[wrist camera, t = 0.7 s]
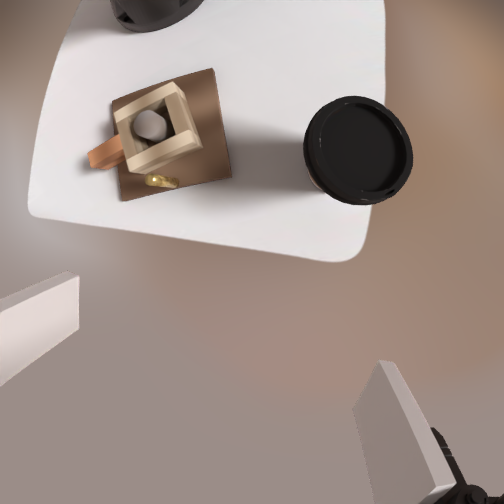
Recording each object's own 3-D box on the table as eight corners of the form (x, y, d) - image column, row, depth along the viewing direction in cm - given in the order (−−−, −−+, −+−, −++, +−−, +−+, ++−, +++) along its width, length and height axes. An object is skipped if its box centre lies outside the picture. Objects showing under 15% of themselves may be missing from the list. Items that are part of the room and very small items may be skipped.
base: (116, 103, 34) (91, 90, 28) (214, 71, 32) (201, 49, 26) (127, 201, 36) (99, 202, 30) (232, 177, 34) (220, 171, 28)
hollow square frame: (183, 92, 32) (172, 81, 28) (203, 148, 33) (193, 141, 29) (99, 137, 34) (82, 132, 30) (114, 190, 35) (96, 189, 31)
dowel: (169, 179, 34) (144, 175, 27) (178, 176, 33) (154, 172, 27) (170, 188, 34) (145, 186, 27) (180, 186, 34) (156, 184, 27)
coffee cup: (317, 216, 34) (342, 227, 19) (283, 152, 33) (282, 117, 18) (377, 185, 32) (437, 176, 18) (344, 123, 31) (381, 74, 17)
